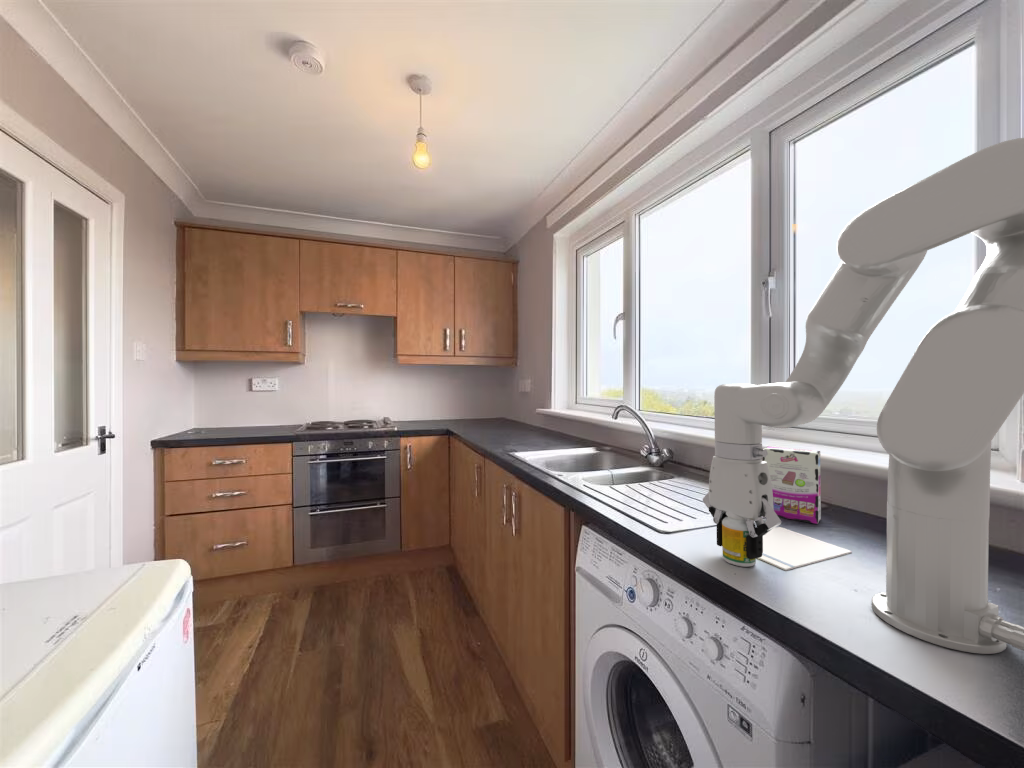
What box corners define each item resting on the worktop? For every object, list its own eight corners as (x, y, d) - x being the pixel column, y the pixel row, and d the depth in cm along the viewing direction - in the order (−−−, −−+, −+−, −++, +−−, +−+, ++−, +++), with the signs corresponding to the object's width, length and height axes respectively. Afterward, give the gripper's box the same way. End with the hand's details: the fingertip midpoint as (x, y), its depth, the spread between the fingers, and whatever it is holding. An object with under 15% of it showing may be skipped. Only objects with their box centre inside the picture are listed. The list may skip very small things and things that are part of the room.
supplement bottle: (732, 552, 78) (731, 502, 78) (761, 562, 73) (761, 509, 73) (716, 559, 75) (715, 507, 75) (746, 570, 70) (745, 515, 70)
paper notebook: (851, 552, 78) (851, 550, 78) (785, 570, 71) (785, 568, 71) (779, 528, 91) (779, 526, 91) (717, 541, 84) (717, 539, 84)
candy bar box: (821, 519, 96) (821, 450, 96) (818, 525, 93) (819, 453, 92) (766, 509, 104) (766, 445, 104) (762, 514, 100) (762, 447, 100)
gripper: (800, 457, 68) (801, 566, 68) (713, 443, 83) (714, 532, 83) (769, 461, 65) (770, 575, 65) (685, 446, 81) (686, 537, 81)
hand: (738, 549), depth 74 cm, fingers closed on supplement bottle, 5 cm apart
